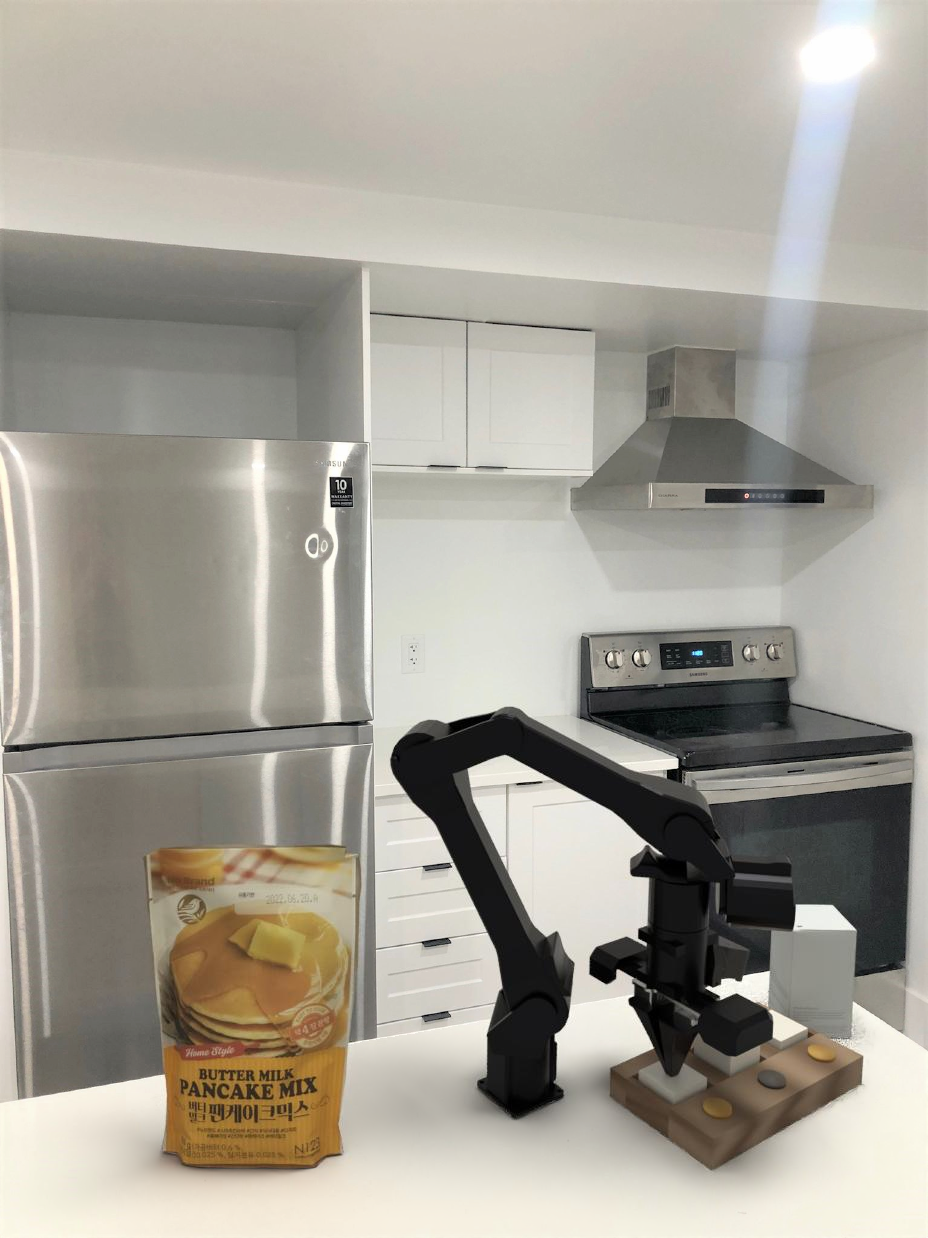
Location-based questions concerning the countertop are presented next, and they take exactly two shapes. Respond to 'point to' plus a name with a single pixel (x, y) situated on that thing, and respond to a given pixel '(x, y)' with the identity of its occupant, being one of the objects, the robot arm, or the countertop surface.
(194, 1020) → the pancake mix bag
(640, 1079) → the near button
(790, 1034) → the far button
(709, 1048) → the middle button
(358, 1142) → the countertop surface
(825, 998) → the supplement box
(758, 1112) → the button board
